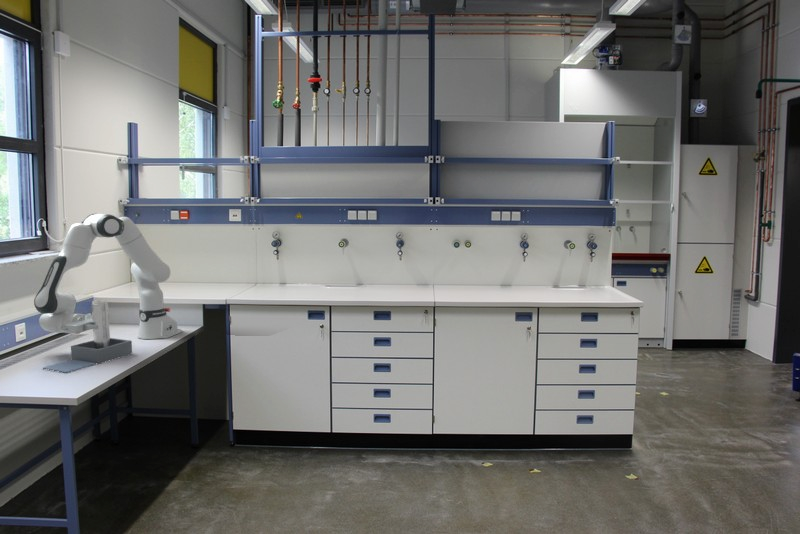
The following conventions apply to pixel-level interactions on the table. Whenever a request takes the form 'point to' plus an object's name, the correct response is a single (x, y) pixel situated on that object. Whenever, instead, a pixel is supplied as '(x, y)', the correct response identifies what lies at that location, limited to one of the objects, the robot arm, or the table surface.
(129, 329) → the table surface
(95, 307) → the light grey tall bar
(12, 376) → the table surface
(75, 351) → the gray open bin
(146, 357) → the table surface
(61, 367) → the mat
